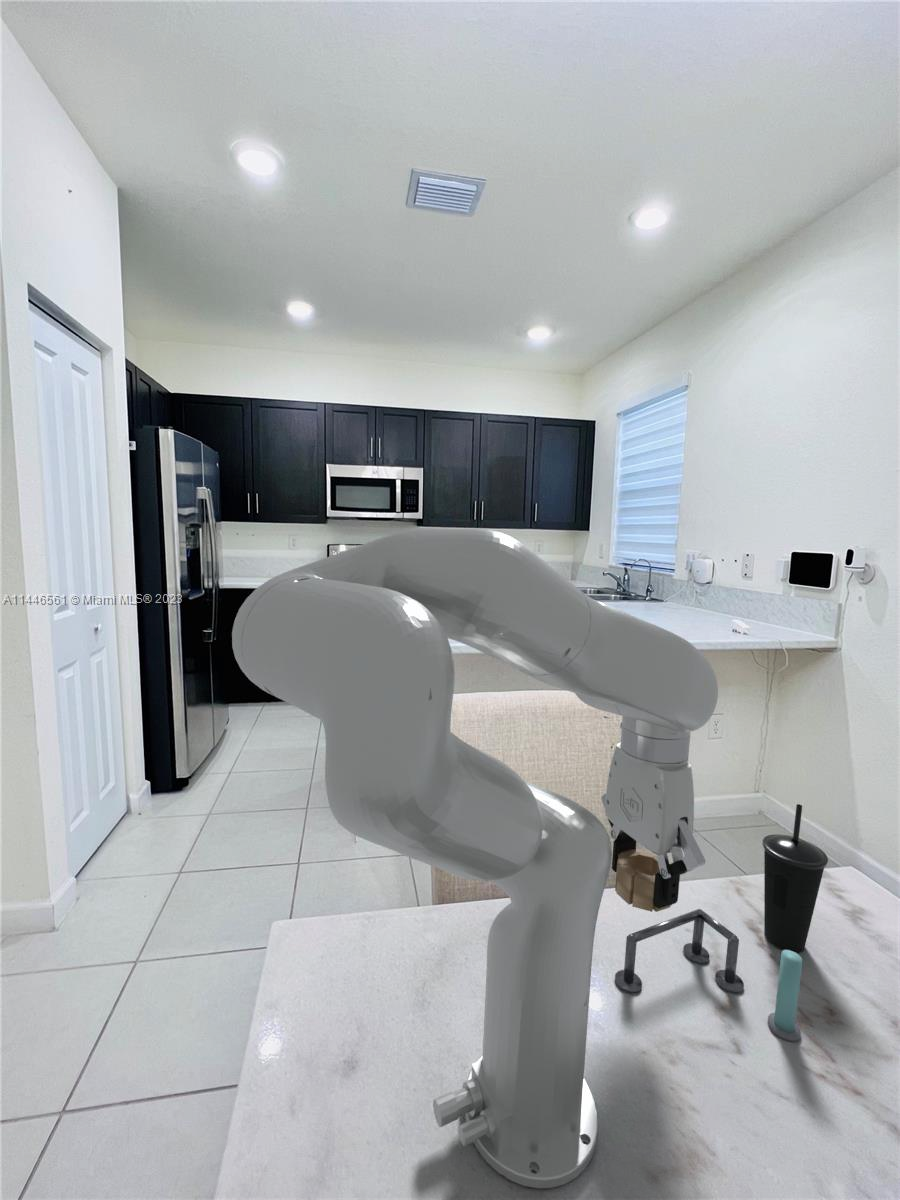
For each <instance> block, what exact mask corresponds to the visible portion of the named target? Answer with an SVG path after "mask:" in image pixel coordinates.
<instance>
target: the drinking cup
mask: <svg viewBox="0 0 900 1200" xmlns="http://www.w3.org/2000/svg"><path fill="white" fill-rule="evenodd" d="M795 807H796V808H795V814H794V815H795V816H794V822H793V823H794V824H793V831H792V835H788V834H769V835H766V836H764V837H763V839H762V842H761V843H762V847H763V849H764V856H763V857H764V867H763V868H764V871H763V872H764V875H763V877H764V880H763V881H764V887H763V888H764V891H763V893H764V897H763V898H764V899H763V900H764V905H763V906H764V907H763V908H764V909H763V911H764V917H763V918H764V921H763V922H764V924H763V925H764V930H763V931H764V937H765V939H766V940H767V941H768V942H769V944H771V945H772V946H774V947H775V948H777V949H779V950H781V951H783V950H790V951H793V952H795V953H797V954H800V953H802V952H804V950H805V947H806V945H807V944H806V943H807V939H808V935H809V932H810V927H811V923H812V919H813V914H814V911H815V907H816V902H817V899H818V895H819V890H820V886H821V882H822V877H823V873H824V870H825V867H827V865H828V864H829V857H828V856H827V853H825V851H824V850H822V849H821V848H819V847H818V846H817V845H815V844H813V843H811V842H809V841H807V840H805V839H802V838H800V830H801V824H802V823H801V821H802V813H803V805H801V804H798V803H797V804H796V806H795Z"/></svg>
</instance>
